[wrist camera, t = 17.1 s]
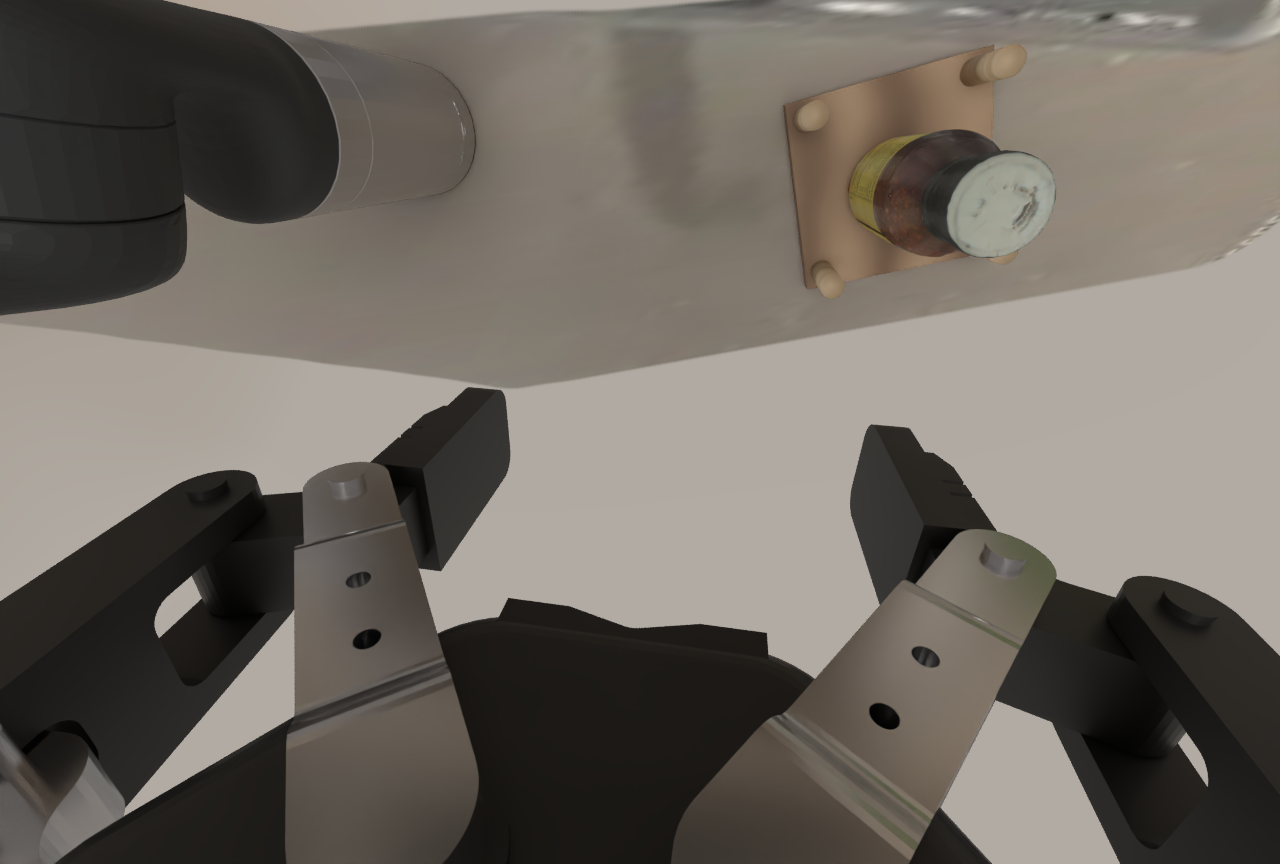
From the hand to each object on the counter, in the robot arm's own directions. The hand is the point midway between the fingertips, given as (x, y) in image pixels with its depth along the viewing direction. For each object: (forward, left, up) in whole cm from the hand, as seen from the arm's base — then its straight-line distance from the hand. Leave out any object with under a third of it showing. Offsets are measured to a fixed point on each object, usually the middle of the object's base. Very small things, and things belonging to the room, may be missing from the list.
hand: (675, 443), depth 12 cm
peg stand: (+12, +4, -36) cm, 38 cm away
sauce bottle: (+12, +4, -35) cm, 37 cm away
